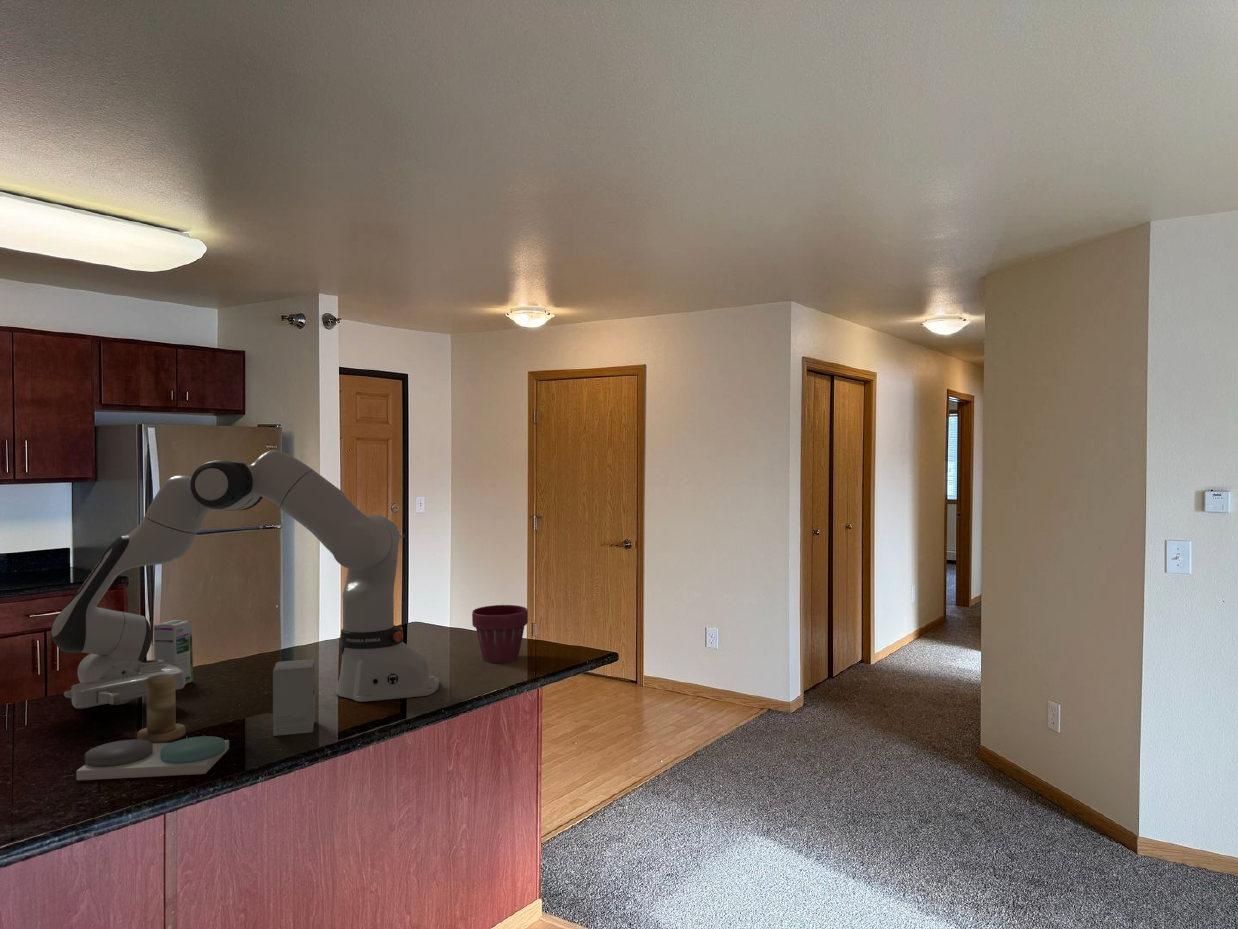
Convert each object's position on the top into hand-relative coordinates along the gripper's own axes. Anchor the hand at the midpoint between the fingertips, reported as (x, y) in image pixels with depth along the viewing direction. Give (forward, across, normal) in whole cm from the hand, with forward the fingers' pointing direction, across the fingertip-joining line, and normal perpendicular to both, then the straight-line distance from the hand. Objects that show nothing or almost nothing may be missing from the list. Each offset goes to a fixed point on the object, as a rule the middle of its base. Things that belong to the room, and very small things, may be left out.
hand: (142, 694), depth 167 cm
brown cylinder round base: (+11, 0, +6) cm, 12 cm away
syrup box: (-26, +15, +6) cm, 31 cm away
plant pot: (+12, +81, +6) cm, 82 cm away
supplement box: (+25, +19, +6) cm, 32 cm away
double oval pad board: (+25, -6, +6) cm, 27 cm away
